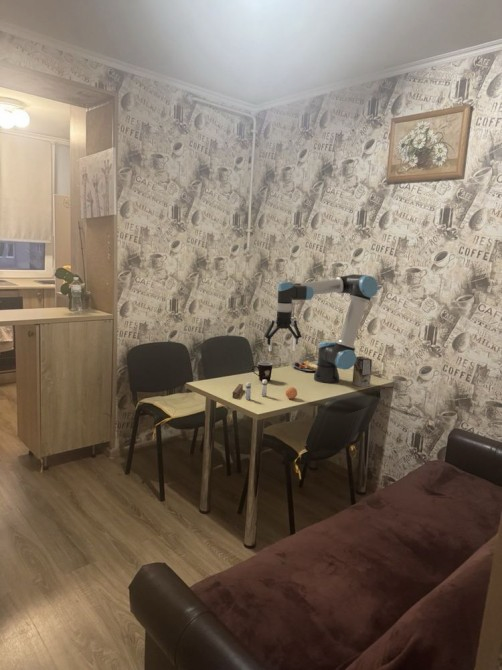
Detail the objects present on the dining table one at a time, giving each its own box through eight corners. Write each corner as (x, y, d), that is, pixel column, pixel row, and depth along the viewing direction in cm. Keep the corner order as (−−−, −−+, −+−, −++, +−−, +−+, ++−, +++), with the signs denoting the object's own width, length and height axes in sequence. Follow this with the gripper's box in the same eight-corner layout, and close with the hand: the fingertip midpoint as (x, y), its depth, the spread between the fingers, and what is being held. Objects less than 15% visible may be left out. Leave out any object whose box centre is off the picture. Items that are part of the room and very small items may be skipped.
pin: (266, 395, 242) (267, 379, 240) (266, 396, 239) (266, 381, 238) (262, 395, 242) (262, 379, 241) (261, 396, 240) (262, 380, 238)
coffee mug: (272, 378, 275) (273, 362, 274) (271, 382, 267) (272, 365, 265) (252, 377, 276) (253, 361, 275) (251, 381, 268) (252, 364, 266)
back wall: (242, 389, 251) (242, 384, 250) (236, 398, 235) (236, 392, 235) (239, 389, 251) (239, 384, 250) (232, 397, 235) (232, 392, 235)
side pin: (250, 398, 235) (251, 382, 234) (249, 400, 233) (250, 383, 231) (246, 398, 235) (246, 382, 234) (245, 399, 233) (245, 383, 232)
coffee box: (370, 386, 267) (372, 359, 264) (361, 387, 264) (363, 359, 262) (360, 382, 275) (362, 355, 272) (351, 383, 272) (353, 356, 270)
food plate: (284, 366, 309) (285, 361, 308) (309, 362, 323) (310, 357, 322) (311, 375, 289) (311, 370, 289) (336, 371, 304) (337, 366, 303)
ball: (297, 397, 241) (298, 386, 240) (296, 400, 235) (297, 389, 234) (285, 396, 242) (286, 385, 241) (284, 399, 236) (285, 388, 235)
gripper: (303, 310, 251) (301, 348, 254) (259, 310, 244) (257, 349, 247) (308, 312, 244) (306, 351, 247) (263, 311, 237) (261, 352, 240)
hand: (282, 350), depth 247 cm, fingers open, 13 cm apart
